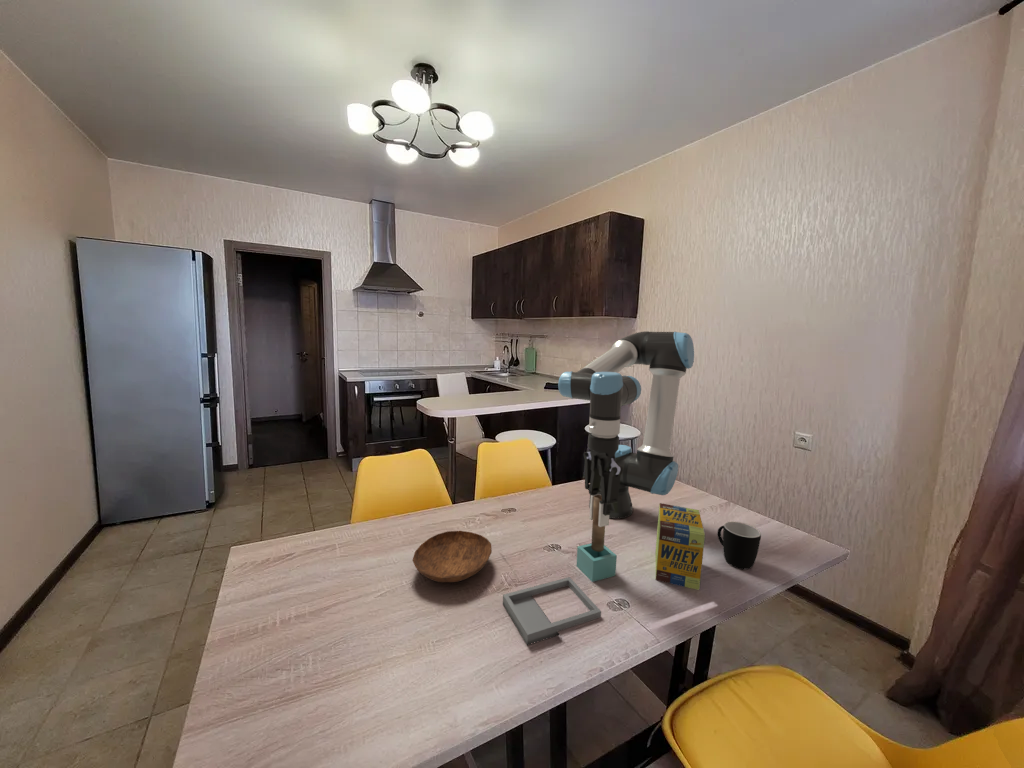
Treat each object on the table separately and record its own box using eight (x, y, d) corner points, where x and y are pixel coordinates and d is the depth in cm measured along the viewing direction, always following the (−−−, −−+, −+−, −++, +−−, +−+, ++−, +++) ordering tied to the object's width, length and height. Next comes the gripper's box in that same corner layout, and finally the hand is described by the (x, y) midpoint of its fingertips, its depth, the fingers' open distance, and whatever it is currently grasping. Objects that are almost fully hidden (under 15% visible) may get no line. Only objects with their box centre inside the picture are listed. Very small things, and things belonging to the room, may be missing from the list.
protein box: (654, 584, 100) (659, 526, 98) (655, 552, 115) (659, 502, 112) (699, 594, 97) (705, 535, 95) (694, 560, 111) (699, 508, 109)
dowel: (588, 546, 104) (591, 496, 102) (598, 543, 105) (601, 494, 103) (596, 552, 101) (598, 501, 99) (606, 550, 102) (609, 499, 100)
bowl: (502, 554, 112) (502, 538, 111) (469, 604, 91) (469, 584, 90) (441, 541, 118) (441, 525, 117) (397, 585, 97) (396, 566, 97)
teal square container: (576, 569, 105) (577, 546, 104) (598, 563, 108) (599, 541, 107) (591, 585, 99) (593, 561, 98) (615, 579, 102) (616, 555, 101)
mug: (764, 569, 108) (769, 534, 106) (739, 575, 105) (743, 539, 103) (728, 546, 119) (731, 514, 118) (704, 551, 116) (708, 518, 115)
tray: (502, 604, 91) (503, 594, 91) (569, 585, 99) (569, 576, 98) (527, 645, 80) (527, 634, 79) (600, 621, 87) (601, 611, 87)
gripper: (573, 427, 104) (569, 510, 108) (612, 444, 89) (606, 540, 93) (596, 425, 107) (592, 506, 111) (637, 441, 92) (631, 534, 96)
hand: (598, 521), depth 102 cm, fingers closed on dowel, 3 cm apart
